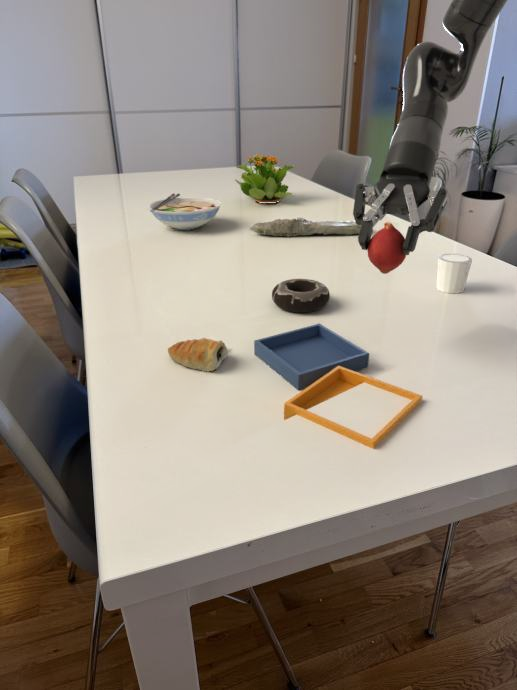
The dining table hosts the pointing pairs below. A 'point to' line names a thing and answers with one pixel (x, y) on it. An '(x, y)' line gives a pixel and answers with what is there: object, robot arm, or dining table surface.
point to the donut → (300, 295)
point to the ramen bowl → (185, 211)
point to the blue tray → (309, 354)
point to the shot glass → (452, 272)
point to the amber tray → (335, 385)
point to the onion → (386, 249)
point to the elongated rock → (306, 227)
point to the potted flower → (264, 180)
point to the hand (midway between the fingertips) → (384, 249)
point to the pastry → (199, 353)
